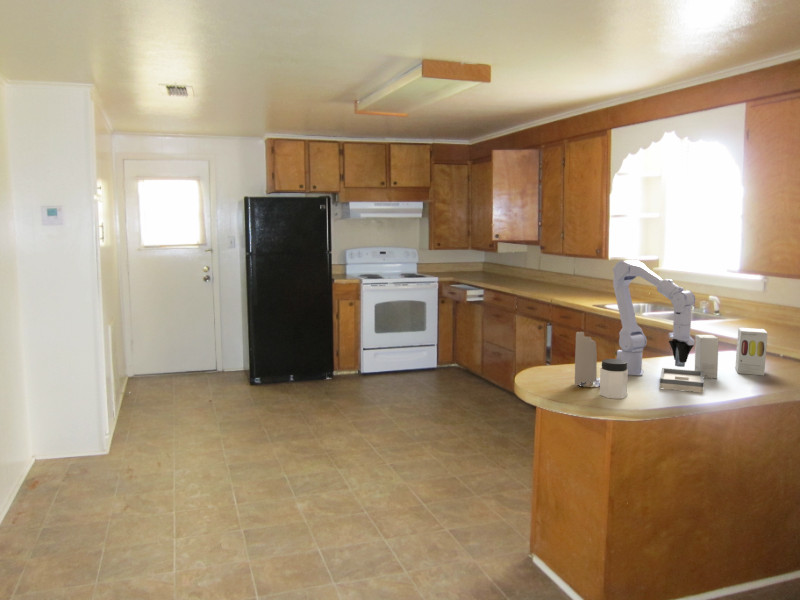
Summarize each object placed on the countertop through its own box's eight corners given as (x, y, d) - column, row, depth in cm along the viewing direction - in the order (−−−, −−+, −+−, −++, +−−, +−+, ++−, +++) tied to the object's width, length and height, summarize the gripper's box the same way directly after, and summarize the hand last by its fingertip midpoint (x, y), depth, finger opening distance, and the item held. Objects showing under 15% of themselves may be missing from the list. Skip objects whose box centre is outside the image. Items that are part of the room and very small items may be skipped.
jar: (606, 390, 222) (607, 357, 221) (629, 394, 217) (631, 360, 216) (596, 396, 216) (597, 361, 214) (619, 400, 210) (621, 365, 209)
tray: (659, 388, 225) (660, 378, 224) (661, 376, 241) (662, 367, 241) (703, 392, 219) (703, 382, 219) (702, 380, 235) (702, 371, 235)
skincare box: (717, 379, 237) (719, 338, 235) (698, 378, 239) (700, 337, 237) (711, 373, 246) (713, 334, 244) (693, 373, 247) (695, 333, 245)
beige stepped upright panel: (616, 387, 227) (618, 332, 224) (577, 387, 227) (579, 332, 224) (609, 382, 234) (611, 328, 232) (572, 382, 234) (573, 329, 231)
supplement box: (737, 373, 246) (739, 330, 244) (734, 368, 254) (737, 327, 252) (765, 375, 242) (768, 332, 240) (761, 370, 251) (764, 328, 248)
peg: (677, 366, 229) (678, 347, 228) (673, 364, 232) (674, 346, 231) (686, 366, 229) (687, 347, 228) (681, 364, 232) (682, 345, 231)
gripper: (661, 321, 235) (659, 357, 237) (681, 327, 221) (679, 365, 223) (679, 320, 236) (678, 356, 237) (701, 327, 221) (699, 365, 223)
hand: (680, 361), depth 230 cm, fingers closed on peg, 3 cm apart
